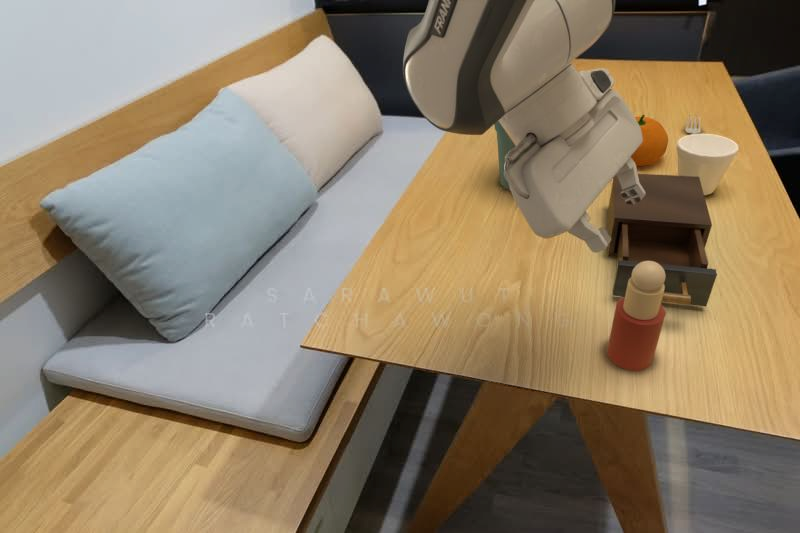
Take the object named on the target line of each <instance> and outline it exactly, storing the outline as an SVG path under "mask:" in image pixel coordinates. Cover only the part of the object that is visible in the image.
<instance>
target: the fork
mask: <svg viewBox="0 0 800 533" xmlns="http://www.w3.org/2000/svg"><path fill="white" fill-rule="evenodd" d="M690 118H691V119H690ZM697 118H698V119H697ZM693 121H694V124H693ZM697 121H698V123H697ZM689 123H690V124H689ZM697 124H698V128H697ZM684 131H685V132H686V133H687V134H701V131H702V128H701V115H699V116H697V115H695V117H694V114H692V115H691V117H690V114H688V117H687V120H686V125H685V129H684Z"/></svg>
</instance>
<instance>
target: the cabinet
mask: <svg viewBox="0 0 800 533" xmlns="http://www.w3.org/2000/svg"><path fill="white" fill-rule="evenodd" d="M638 178H639V183H640V184H641V186H642V187H643V189H644V190H645V192H646V194H645V196H644V197H643V198H642V200H641V201H640V202H639V203H635V204H633V205H628V204H627V203H626V202H625V199H623V197H622V196H621V194H620V193H621V192H622V187H621V185H620V182H619V179H618V176H617V175H616V176H614V177H613V179H612V182H611V183H612V184H611V191H610V195H609V196H610V197H609V202H608V209H607V210H608V211H607V233H608V235H609V236H610V237H611V242H610V243H609V245H608V246H607V257H609V258H617V238H618V233H619V227H620V222H624V223H637V224H650V225H662V226H675V227H688V228H700V231H701V235H702V239H703V244H704V248H705V249H706V246H707V242H708V240H709V237H710V232H711V229H712V226H713V222H712V219H711V215H710V213H709V209H708V205H707V202H706V196H704V193H703V190H702V186H701V182H700V178H699V177H694V176H678V175H674V174H673V175H671V174H655V173H653V174H652V173H638Z"/></svg>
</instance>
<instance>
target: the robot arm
mask: <svg viewBox="0 0 800 533" xmlns="http://www.w3.org/2000/svg"><path fill="white" fill-rule="evenodd" d="M615 10H616V0H428V3H427V6H426V9H425V12H424V15H423V17H422V19H421V21H420V22H419V23H418V24H417V25H416V26H413V27H412V28H411V29H410V30H409V31H408V34H407V38H406V42H405V46H404V52H403V59H402V62H403V63H402V74H403V79H404V80H403V81H404V83H405V86H406V90H407V91H408V94H409V96H410V98H411V100H412V102H413V104H414V105H415V107H416V108H417V110H418V111H419V112H420V113H421V115H422V116H423V117H424V119H425V120H427V122H429V124H431V125H432V126H434V127H435V128H436V129H438V130H440V131H442V132H447V133H452V134H457V135H465V136H466V135H467V136H482V135H484V134H485V133H486V132H488V130H490V129H491V128H492V127H493V126H494V124H495V123H496V122H497V121H499V122H500V124H501V125H502V127H503V128H504V130H505V131H506V133H507V134H508V135H509V137H510V138H511V140H512V141H513V143H514V144H515V146H516V147H515V148H514V149H512V150H510V151H509V152H508V153H507V154H506V156H505V165H504V176H505V179H506V180H507V182H508V183H509V188H510V190H509V191H510V193H511V195H512V197H513V199H514V202H515V203H516V205H517V207H518V209H519V210H520V213H521V214H522V216H523V217H524V220H525V221H526V223H527V224H528V226H529V228H530V229H531V231H532V232H533V233H534V235H536V236H537V237H540V238H541V239H545V240H548V239H552V238H554V237H557V236H560V235H562V234H565V233H568V234H570V235H572V236H574V237H576V238H578V239H580V240H581V241H584V242H585V244H586V245H587V247H588V248H589V250H590V251H591V252H592V253H600V252H603V251H605V250H606V249H608V245H609V243H610V242H611V237H610V236H609V235H608V230H607V229H605V228H606V227H601V228H598V227H595V225H592V224H591V223H590V221H591V217H590V215H589V214H588V212H587V210H588V209H589V208H590V207H591V205H592V204H594V202H595V200H597V198H598V197H599V196H600V195H601V193H602V192H603V191H604V190H605V188H606V187H607V186H608V185H609V184H610V182H611V181H613V177H614V176H616V175H617V176H618V179H619V182H620V185H621V187H622V192H621V193H620V194H621V196H622V197H623V199H625V202H626V203H627V204H628V205H633V204H635V203H639V202H640V201H641V200H642V198H643V197H644V196H645V194H646V192H645V190H644V189H643V187H642V186H641V184H640V183H639V178H638V174H639V173H638V168H637V166H636V164H635V162H634V161H633V159H632V158H631V156H632V154H633V153H634V152H635V151H636V150H637V148H638V147H639V146H640V145H641V144H642V142H643V138H642V132H641V128H640V126H639V124H638V122H637V120H636V119H635V117H636V116H635V115H634V112H632V110H631V108H630V106H629V105H628V104H627V102H626V101H625V99H624V98H623V96H622V95H621V94H620V92H618V91H617V90H616V89H613V87H614V86H615V80H614V77H613V76H612V74H611V72H610V70H608V69H607V68H606V67H599V68H595V69H588V70H583V69H582V70H579V71H578V69H577V68H576V67H575V66H574V64H573V63H572V61H574V60H575V59H577V58H578V57H579V56H580V55H582V54H583V53H584V52H586V51H587V50H588V49H590V48H591V47H592V46H593V45H594V44H595V43H596V42H597V41H598V40H599V39H600V38H601V36H602V35H603V34H604V33H605V32H606V31H607V30H608V29H609V27H610V26H611V23H612V21H613V17H614V15H615ZM509 164H512V165H511V166H510V167H509Z"/></svg>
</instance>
